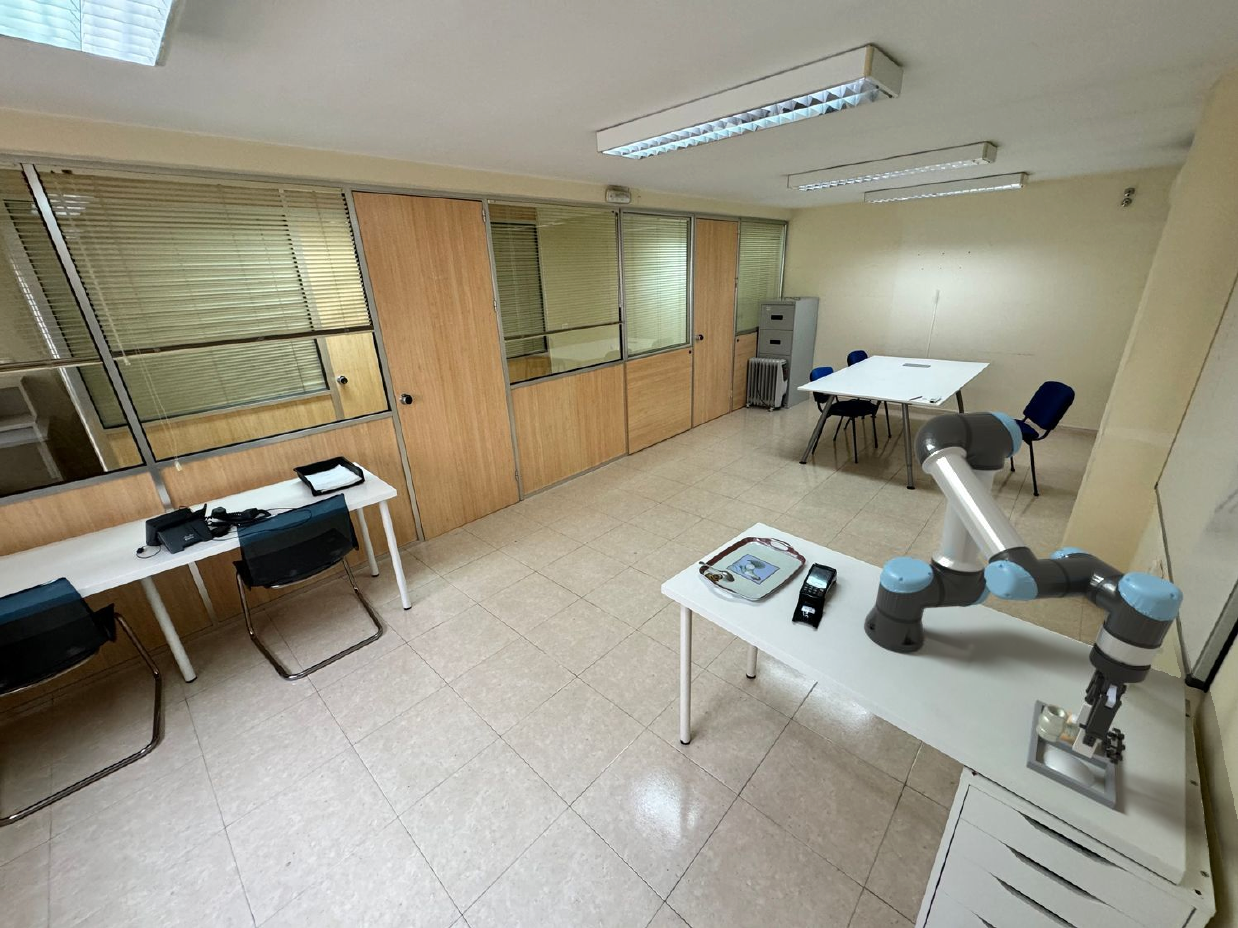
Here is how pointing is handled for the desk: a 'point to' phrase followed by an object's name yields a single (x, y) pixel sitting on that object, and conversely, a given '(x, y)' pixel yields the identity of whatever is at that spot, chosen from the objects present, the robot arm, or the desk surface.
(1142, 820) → the desk surface
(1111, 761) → the valve
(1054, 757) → the grey divided tray
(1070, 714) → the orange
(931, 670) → the desk surface
